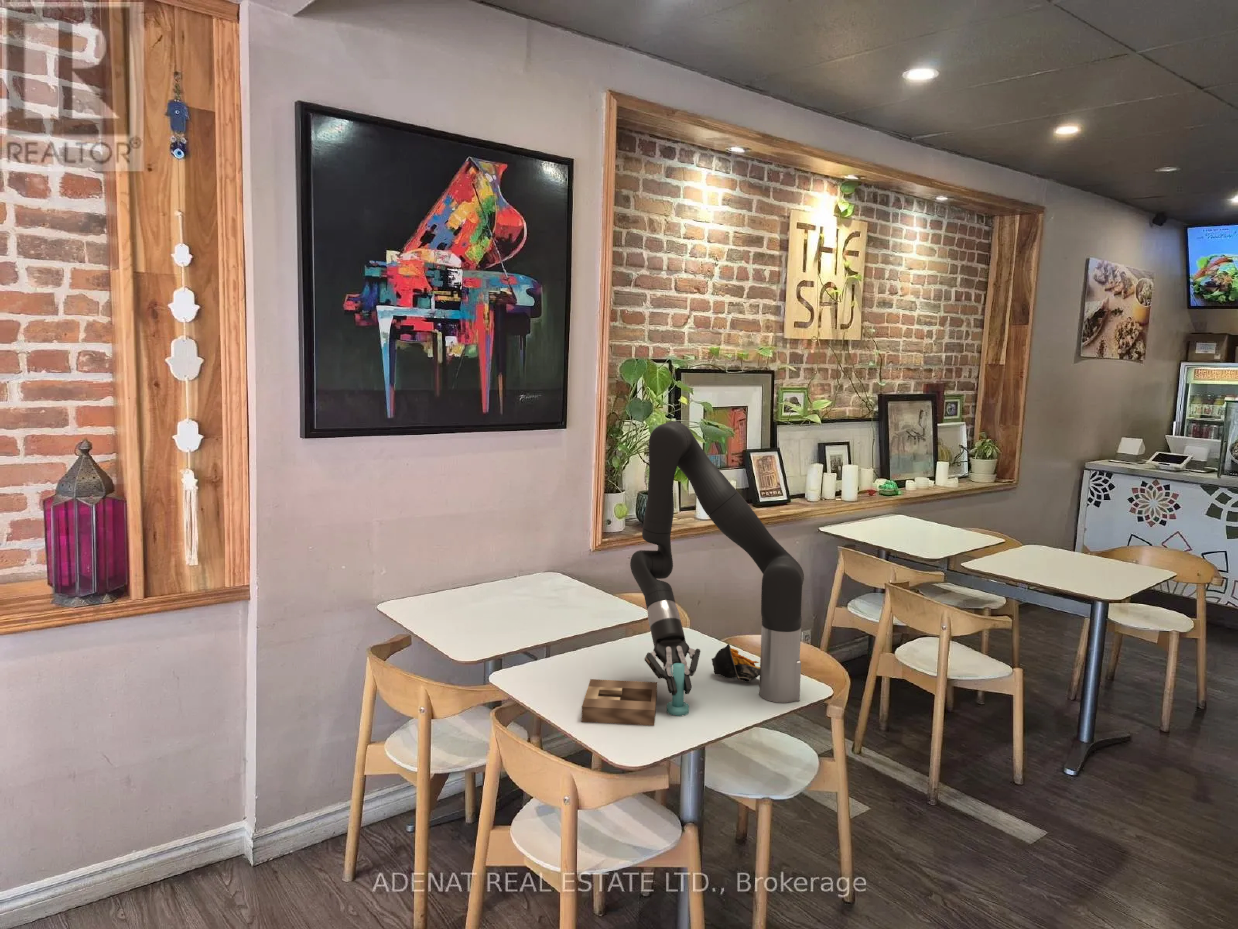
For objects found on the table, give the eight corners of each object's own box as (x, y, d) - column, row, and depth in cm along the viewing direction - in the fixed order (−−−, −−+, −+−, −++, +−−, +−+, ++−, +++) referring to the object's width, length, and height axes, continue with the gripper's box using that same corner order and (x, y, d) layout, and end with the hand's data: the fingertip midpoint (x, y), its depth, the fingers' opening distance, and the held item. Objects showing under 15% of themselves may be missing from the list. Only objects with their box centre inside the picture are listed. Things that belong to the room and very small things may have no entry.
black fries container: (708, 650, 214) (775, 631, 212) (721, 693, 211) (789, 674, 209) (705, 649, 205) (775, 629, 203) (718, 693, 202) (789, 673, 200)
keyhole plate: (657, 696, 195) (657, 682, 195) (654, 725, 180) (654, 710, 179) (590, 693, 197) (590, 679, 196) (581, 721, 181) (581, 706, 180)
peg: (688, 707, 189) (689, 661, 188) (688, 716, 184) (689, 669, 183) (666, 706, 190) (668, 660, 188) (666, 715, 185) (667, 668, 183)
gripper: (640, 618, 190) (655, 689, 180) (697, 614, 194) (715, 684, 183) (633, 633, 196) (648, 703, 185) (688, 629, 199) (705, 697, 189)
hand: (681, 693), depth 184 cm, fingers closed on peg, 2 cm apart
